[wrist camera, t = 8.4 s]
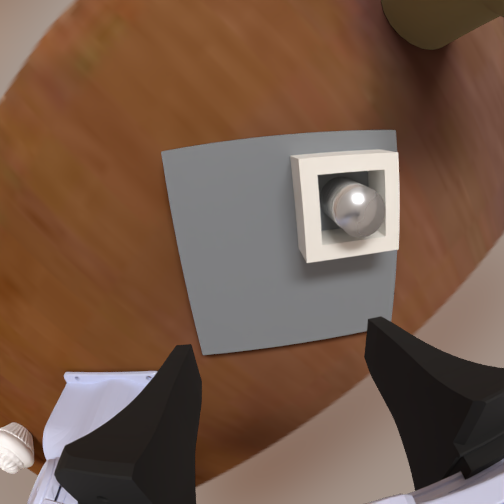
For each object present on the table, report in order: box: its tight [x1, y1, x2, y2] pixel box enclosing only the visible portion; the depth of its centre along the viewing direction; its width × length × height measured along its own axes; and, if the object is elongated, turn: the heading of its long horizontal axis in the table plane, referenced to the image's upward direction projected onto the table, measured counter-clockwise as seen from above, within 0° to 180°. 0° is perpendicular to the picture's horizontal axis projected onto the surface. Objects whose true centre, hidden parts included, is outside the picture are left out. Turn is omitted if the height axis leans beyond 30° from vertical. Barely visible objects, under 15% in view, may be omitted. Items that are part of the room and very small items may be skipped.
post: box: [320, 177, 385, 238], centre depth 17 cm, size 3×3×4 cm
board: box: [161, 130, 397, 355], centre depth 20 cm, size 14×14×1 cm
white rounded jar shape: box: [0, 423, 34, 474], centre depth 24 cm, size 6×6×7 cm
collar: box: [290, 149, 400, 263], centre depth 18 cm, size 6×6×2 cm
